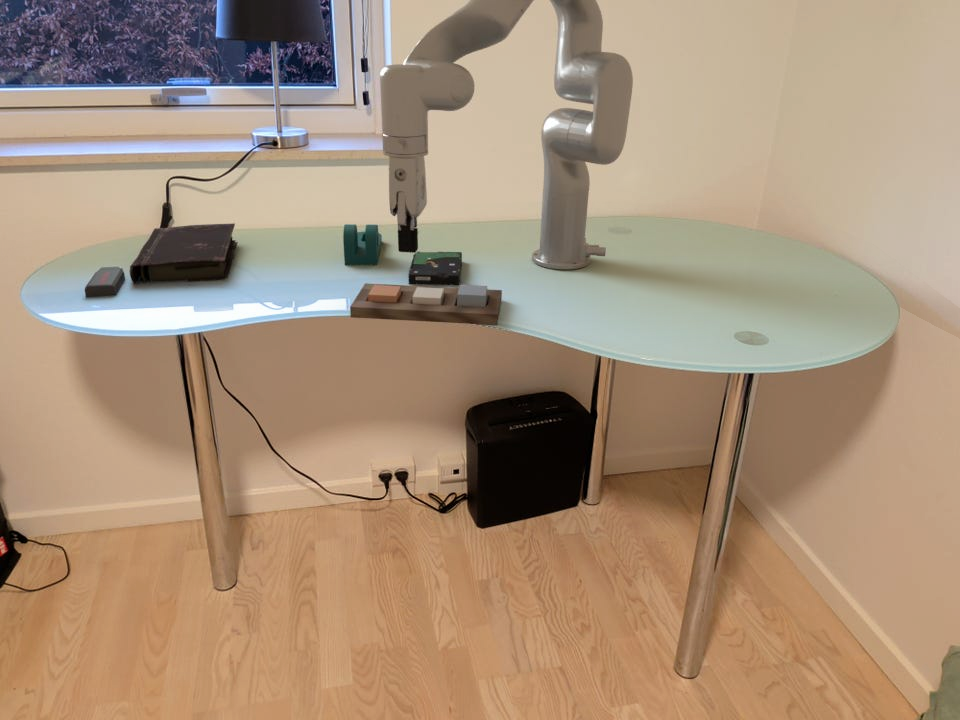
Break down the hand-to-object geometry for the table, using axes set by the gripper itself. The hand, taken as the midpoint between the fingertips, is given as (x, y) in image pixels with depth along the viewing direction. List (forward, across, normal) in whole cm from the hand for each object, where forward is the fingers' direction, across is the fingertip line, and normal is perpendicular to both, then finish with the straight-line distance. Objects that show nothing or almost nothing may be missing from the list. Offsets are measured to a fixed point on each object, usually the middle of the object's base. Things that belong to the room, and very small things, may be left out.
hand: (408, 250), depth 132 cm
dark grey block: (+11, +2, +59) cm, 60 cm away
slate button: (+11, 0, -12) cm, 16 cm away
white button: (+12, 0, -4) cm, 12 cm away
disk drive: (+12, +20, -2) cm, 23 cm away
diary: (+11, +18, +50) cm, 54 cm away
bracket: (+11, +30, +16) cm, 36 cm away
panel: (+11, 0, -4) cm, 11 cm away
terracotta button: (+12, 0, +4) cm, 12 cm away
